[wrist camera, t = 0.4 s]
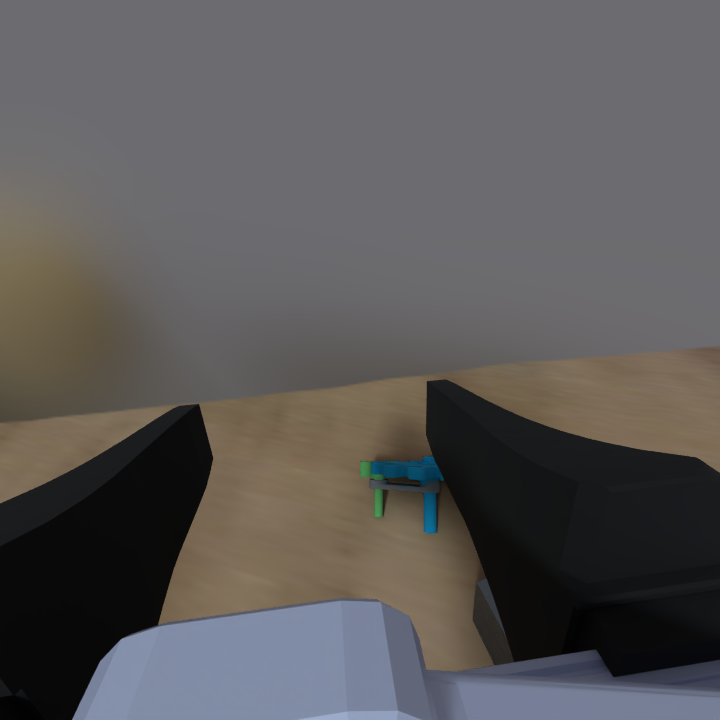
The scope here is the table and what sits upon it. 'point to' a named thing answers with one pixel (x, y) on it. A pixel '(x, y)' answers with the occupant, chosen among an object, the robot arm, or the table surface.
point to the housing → (490, 624)
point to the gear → (414, 471)
